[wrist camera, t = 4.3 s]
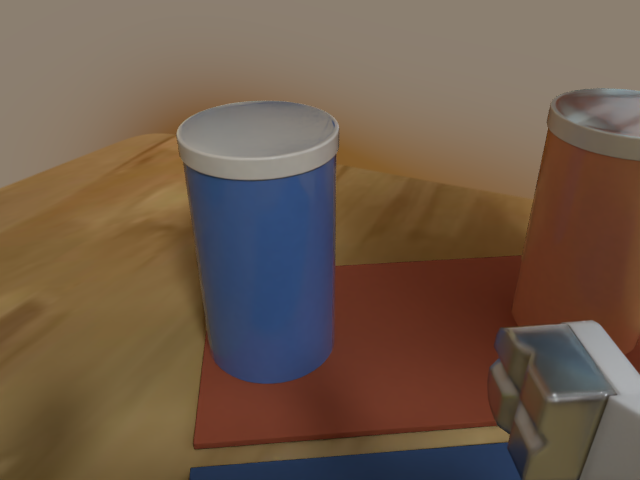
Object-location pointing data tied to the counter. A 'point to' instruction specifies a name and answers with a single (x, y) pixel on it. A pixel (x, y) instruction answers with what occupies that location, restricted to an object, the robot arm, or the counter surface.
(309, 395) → the terracotta mat
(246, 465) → the blue mat
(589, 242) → the terracotta canister
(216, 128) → the blue canister
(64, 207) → the counter surface
